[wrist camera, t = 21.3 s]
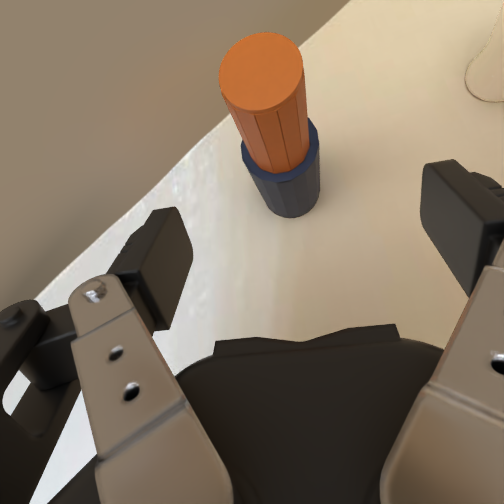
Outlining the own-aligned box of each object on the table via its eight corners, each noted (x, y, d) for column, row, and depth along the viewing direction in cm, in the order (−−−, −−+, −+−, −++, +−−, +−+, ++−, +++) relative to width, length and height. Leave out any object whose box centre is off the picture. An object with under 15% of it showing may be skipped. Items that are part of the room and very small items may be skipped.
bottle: (315, 160, 41) (310, 65, 25) (323, 213, 40) (324, 149, 24) (260, 170, 42) (223, 85, 26) (267, 222, 41) (232, 167, 25)
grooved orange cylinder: (304, 112, 29) (296, 22, 20) (312, 167, 28) (308, 99, 19) (247, 124, 30) (214, 43, 21) (253, 177, 29) (222, 118, 20)
